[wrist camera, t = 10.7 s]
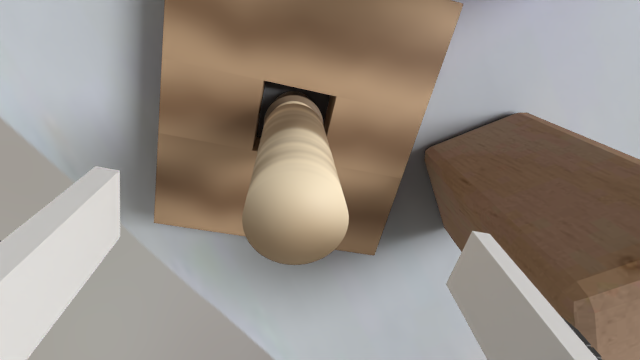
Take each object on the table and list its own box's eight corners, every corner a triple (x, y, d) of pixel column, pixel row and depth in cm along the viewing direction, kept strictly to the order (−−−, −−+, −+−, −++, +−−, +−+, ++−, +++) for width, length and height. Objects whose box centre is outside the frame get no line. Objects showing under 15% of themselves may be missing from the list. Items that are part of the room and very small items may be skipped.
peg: (271, 80, 30) (248, 161, 13) (325, 92, 30) (364, 182, 14) (262, 132, 32) (232, 258, 15) (313, 142, 32) (335, 272, 16)
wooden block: (418, 147, 33) (570, 305, 15) (522, 105, 32) (818, 221, 14) (442, 229, 37) (584, 430, 19) (535, 195, 36) (777, 372, 18)
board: (183, -68, 25) (168, -79, 22) (444, 5, 28) (463, 3, 25) (166, 203, 34) (153, 222, 31) (367, 234, 37) (374, 255, 34)
